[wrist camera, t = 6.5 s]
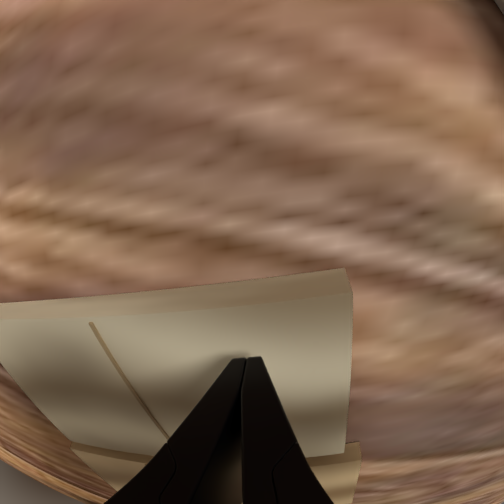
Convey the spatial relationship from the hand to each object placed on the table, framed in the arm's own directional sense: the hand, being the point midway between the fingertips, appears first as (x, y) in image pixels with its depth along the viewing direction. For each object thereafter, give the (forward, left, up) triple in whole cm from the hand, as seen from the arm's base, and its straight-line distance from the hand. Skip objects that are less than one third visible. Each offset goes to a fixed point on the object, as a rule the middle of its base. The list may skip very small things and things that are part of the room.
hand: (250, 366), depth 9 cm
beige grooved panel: (-3, +5, -2) cm, 6 cm away
